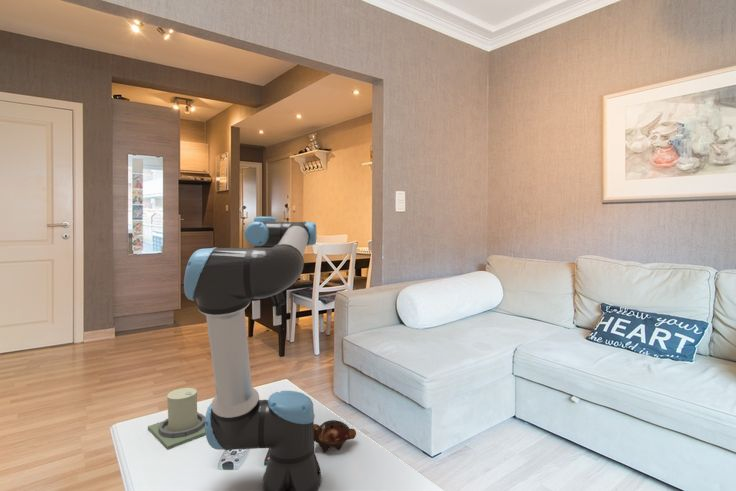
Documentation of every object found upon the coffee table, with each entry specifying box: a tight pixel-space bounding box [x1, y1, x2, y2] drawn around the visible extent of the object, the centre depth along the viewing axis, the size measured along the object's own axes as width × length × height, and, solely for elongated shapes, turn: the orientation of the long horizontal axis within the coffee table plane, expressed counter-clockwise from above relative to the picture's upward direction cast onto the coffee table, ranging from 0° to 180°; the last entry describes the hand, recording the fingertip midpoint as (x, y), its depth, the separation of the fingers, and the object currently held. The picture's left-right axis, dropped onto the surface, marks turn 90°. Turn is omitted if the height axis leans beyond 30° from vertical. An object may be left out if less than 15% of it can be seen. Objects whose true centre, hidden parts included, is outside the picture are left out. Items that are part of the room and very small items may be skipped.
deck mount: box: [147, 411, 206, 450], centre depth 134 cm, size 18×16×2 cm
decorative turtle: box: [314, 419, 357, 453], centre depth 124 cm, size 10×15×8 cm, turn 115°
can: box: [166, 387, 198, 432], centre depth 134 cm, size 9×9×12 cm
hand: (266, 321), depth 140 cm, fingers open, 13 cm apart
